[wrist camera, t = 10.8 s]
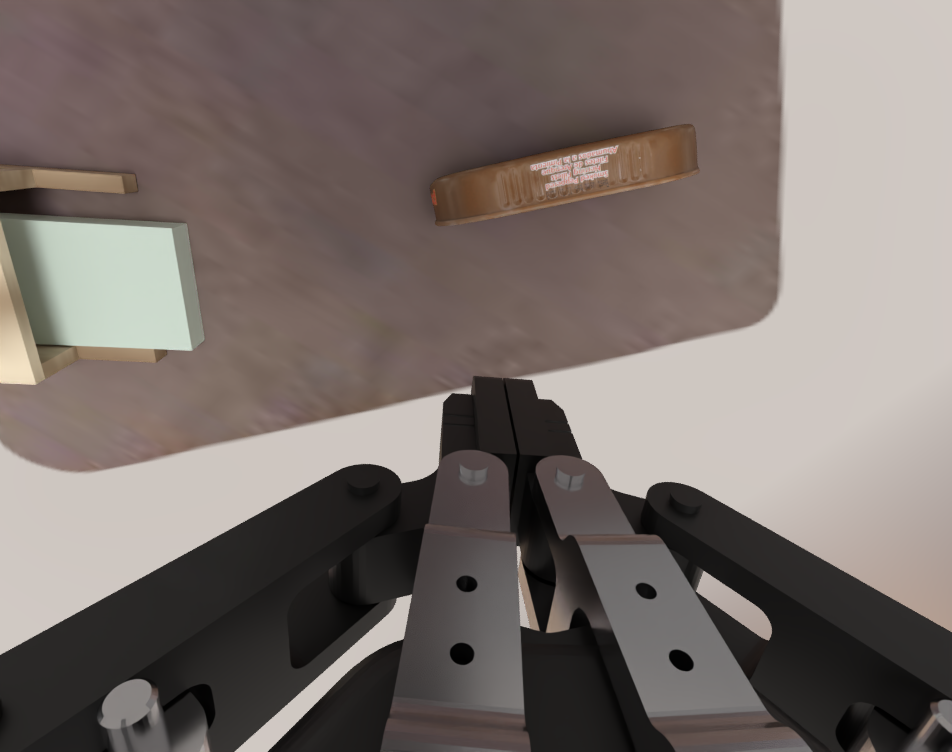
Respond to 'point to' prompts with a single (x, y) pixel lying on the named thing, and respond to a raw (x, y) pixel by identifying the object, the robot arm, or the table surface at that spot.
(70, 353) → the beige forked block
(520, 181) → the tin
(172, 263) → the panel
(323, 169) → the table surface
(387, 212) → the table surface
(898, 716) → the robot arm
